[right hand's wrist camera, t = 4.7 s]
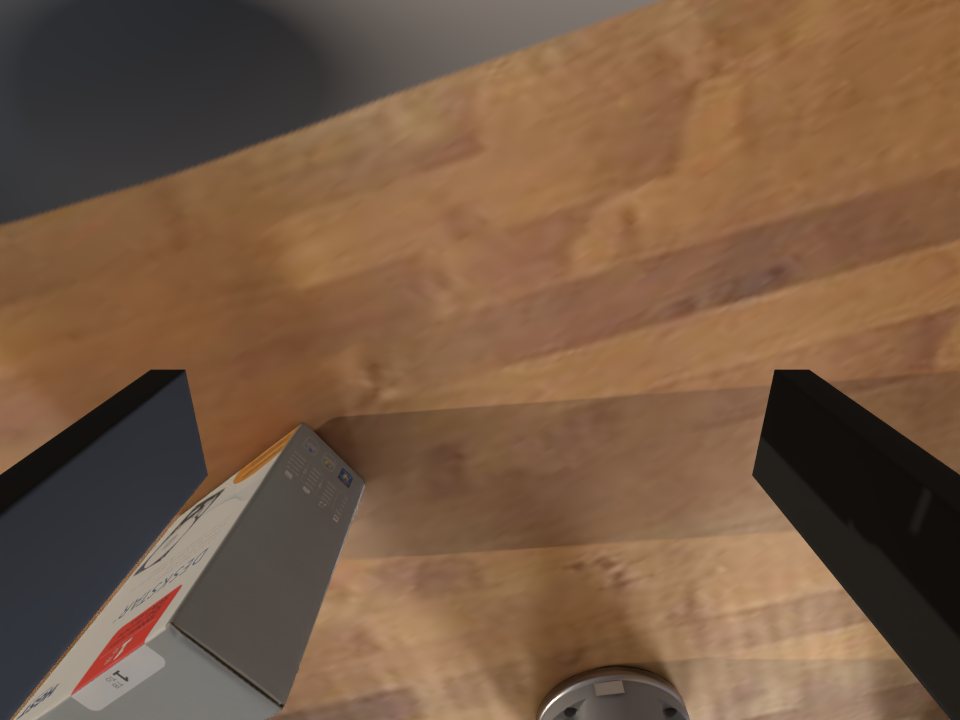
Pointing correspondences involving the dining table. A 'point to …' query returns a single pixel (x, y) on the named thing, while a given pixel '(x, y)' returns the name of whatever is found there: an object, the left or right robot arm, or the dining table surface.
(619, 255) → the dining table surface
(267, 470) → the hard drive box
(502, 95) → the dining table surface
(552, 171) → the dining table surface
